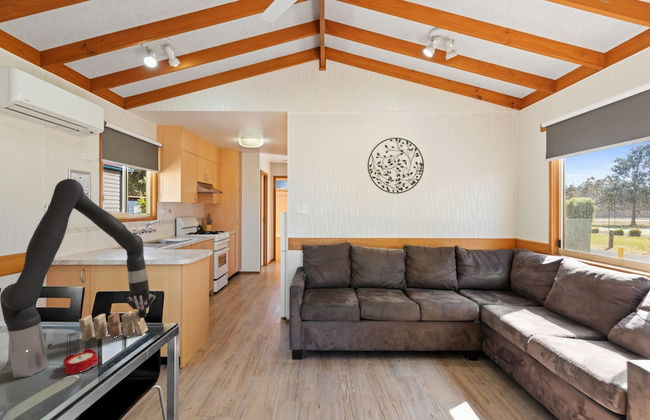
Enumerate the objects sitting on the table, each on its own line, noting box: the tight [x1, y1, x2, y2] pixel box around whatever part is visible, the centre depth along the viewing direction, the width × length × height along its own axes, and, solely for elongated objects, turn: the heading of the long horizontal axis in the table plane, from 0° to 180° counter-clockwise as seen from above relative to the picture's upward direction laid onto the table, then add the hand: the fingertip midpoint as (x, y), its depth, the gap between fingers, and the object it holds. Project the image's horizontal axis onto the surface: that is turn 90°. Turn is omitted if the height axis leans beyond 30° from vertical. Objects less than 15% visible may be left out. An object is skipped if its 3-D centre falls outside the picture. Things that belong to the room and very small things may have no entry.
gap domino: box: [107, 311, 123, 339], centre depth 148 cm, size 2×5×10 cm, turn 3°
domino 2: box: [92, 313, 109, 341], centre depth 148 cm, size 2×5×10 cm, turn 2°
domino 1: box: [78, 314, 96, 343], centre depth 147 cm, size 2×5×10 cm, turn 2°
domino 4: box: [130, 309, 149, 337], centre depth 148 cm, size 2×5×10 cm, turn 1°
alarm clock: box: [63, 348, 99, 375], centre depth 124 cm, size 10×6×15 cm
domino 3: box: [120, 310, 136, 338], centre depth 148 cm, size 2×5×10 cm, turn 2°
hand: (143, 317), depth 148 cm, fingers closed
